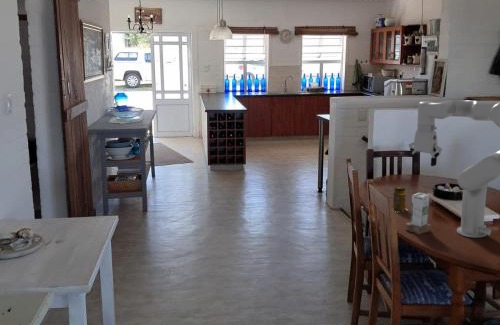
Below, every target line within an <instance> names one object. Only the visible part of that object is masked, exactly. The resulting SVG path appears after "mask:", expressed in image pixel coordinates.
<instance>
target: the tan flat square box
mask: <svg viewBox="0 0 500 325" xmlns="http://www.w3.org/2000/svg"><path fill="white" fill-rule="evenodd" d="M404 227H405V229H406V230H405V229H404V230H405V231H407V230H409V231H408V232H410V231H412V232H411V233H413V232H414V233H413V234H416V235H420V236H421V235H422V234H425V233H429V232H431V227H432V224H430V223H428V224H427V225H425V226H422V227H419V226H415V225H411V224H410V222H406V223H405V226H404Z"/></svg>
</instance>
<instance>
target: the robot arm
mask: <svg viewBox="0 0 500 325" xmlns="http://www.w3.org/2000/svg"><path fill="white" fill-rule="evenodd" d="M450 117H461V118H462V117H465V118H470V119H471V120H473V121H482V122H483V121H484V122H487V121H488V122H493V123H494V124H495V125H496V126H497V127H498V128H499V129H500V100H468V99H467V100H465V99H464V100H463V99H462V100H461V99H460V100H459V99H455V100H454V99H452V100H451V99H450V100H449V99H448V100H444V101H439V102H434V101H431V100H424V101H422V100H421V101H420V102H418V105H417V130H416V131H415V135H414V140H413V142H411V143H409V144H408V147H409V150H410V152H411V155H412V163H413V164H416V163H419V152H420V153H425V154H430V155H431V158H430V167H434V166H436V165H437V163H438V162H437V158H438V157H439V156H441V153H442V151H443V148H442V147H440V146H439V145H438V135H437V131H436V130H437V126H436V119H437V120H444V119H446V118H450ZM499 177H500V149H499V150H497V151H495V152H493V153H491V154H488V155H487V156H485V157H484V158H482V159H481V160H479V161H478V162H476V163H474V164H473V165H469V166H468V167H466V168H465V169H464V170H462V171H461V172H459V174H458V176H457V183H458V186H459V187H460V189H462V190H463V191H462V200H461V218H460V219H461V220H460V226H458V227H457V228H456V233H457V234H458V235H461V236H463V237H467V238H473V239H474V238H475V239H478V238H484V237H487V236H491V232H492V230H491V229H489V228H487V225H486V224H485V212H486V211H485V210H486V201H487V199H486V198H487V191H488V190H487V189H488V184H489V183H490V182H492V181H494V180H496V179H498V178H499Z"/></svg>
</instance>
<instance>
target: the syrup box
mask: <svg viewBox="0 0 500 325" xmlns="http://www.w3.org/2000/svg"><path fill="white" fill-rule="evenodd" d="M410 205H411V206H410V224H411V225H415V226H419V227H422V226H425V225H427V224H429V222H428V220H429V209H430V206H429V205H430V194H428V193H424V192H417V193H414V194H412V195H411V204H410Z"/></svg>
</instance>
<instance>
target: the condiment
mask: <svg viewBox="0 0 500 325" xmlns="http://www.w3.org/2000/svg"><path fill="white" fill-rule="evenodd" d="M406 195H407V194H406V188H405V187H404V186H395V187H394V192H393V198H392V199H393V203H392V208H394V210H395V212H394V213H396V211H402V212H405V211H404V210H405V209H406V211H409V209H408V208H406ZM397 214H398V212H397Z"/></svg>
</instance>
